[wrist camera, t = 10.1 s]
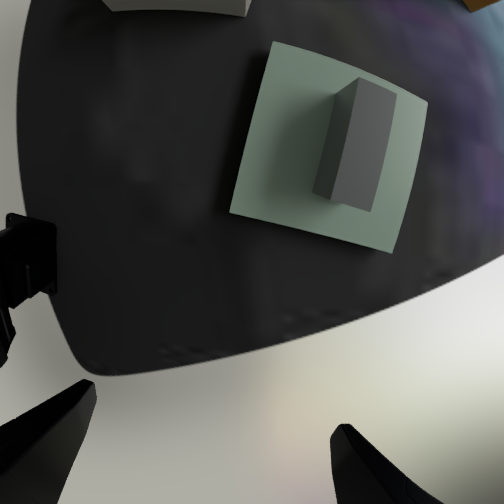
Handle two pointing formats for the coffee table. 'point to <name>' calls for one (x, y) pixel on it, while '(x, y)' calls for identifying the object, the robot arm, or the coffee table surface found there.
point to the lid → (330, 150)
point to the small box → (478, 4)
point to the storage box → (183, 5)
